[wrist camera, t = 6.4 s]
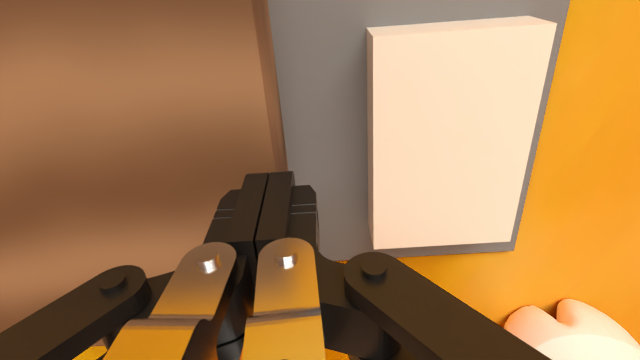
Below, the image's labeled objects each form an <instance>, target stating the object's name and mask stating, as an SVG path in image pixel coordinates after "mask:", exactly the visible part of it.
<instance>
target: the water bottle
mask: <svg viewBox="0 0 640 360" xmlns="http://www.w3.org/2000/svg"><path fill="white" fill-rule="evenodd" d="M504 329H505V330H507V331H508V332H510V333H512V334H513V335H515V336H516V337H518V338H519V339H521V340H522V341H524V342H525V343H527V344H529V345H530V346H532V347H533V348H535V349H536V350H538V351H539V352H541V353H542V354H544V355H546V356H547V357H549V358H550V359H552V360H640V345H639V344H638V343H637V342H636V341H635V340H634V338H633V337H632V336H631V335H630V334H629V333H628V332H627V331H626V330H625V329H624V328H622V327H621V326H620V325H619V324H618V323H617V322H615V321H614V320H613V319H611V318H610V317H608V316H607V315H605V314H604V313H602V312H601V311H599V310H597V309H595V308H594V307H591V306H589V305H587V304H585V303H583V302H580V301H577V300H573V299H563V300H562V301H560V302H559V303H558V306H557V318H556V320H555V319H554V318H553V317H552V316H550V315H549V314H547V313H546V312H545V311H543V310H541V309H540V308H538V307H535V306H533V305H530V306H525V307H522V308H520V309H518V310H517V311H515V312H514V313H513V314H511V315H510V316H509V318H508V320H507V321H506V323H505V325H504Z"/></svg>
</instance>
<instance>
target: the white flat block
mask: <svg viewBox="0 0 640 360" xmlns="http://www.w3.org/2000/svg"><path fill="white" fill-rule="evenodd" d="M556 26H557V23H554V22H550V21H547V20H543V19H539V18H535V17H531V16H517V17H504V18H490V19H477V20H463V21H450V22H436V23H423V24H410V25H396V26H383V27H369V28H366V39H367V136H368V224H369V229H370V234H371V239H372V244H373V249H391V248H408V247H425V246H442V245H459V244H476V243H493V242H510V240H511V236H512V231H513V226H514V222H515V217H516V212H517V208H518V203H519V198H520V194H521V189H522V185H523V180H524V175H525V171H526V166H527V161H528V157H529V152H530V147H531V143H532V138H533V133H534V129H535V124H536V119H537V115H538V110H539V105H540V101H541V96H542V92H543V87H544V82H545V78H546V73H547V68H548V64H549V59H550V54H551V50H552V45H553V40H554V36H555V31H556Z"/></svg>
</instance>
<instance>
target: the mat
mask: <svg viewBox="0 0 640 360" xmlns="http://www.w3.org/2000/svg"><path fill="white" fill-rule="evenodd" d="M569 3H570V0H268V8H269V16H270V24H271V32H272V40H273V49H274V57H275V65H276V73H277V81H278V89H279V98H280V106H281V114H282V122H283V130H284V138H285V147H286V155H287V163H288V171H293V172H294V178H295V186H299V185H310V186H311V187H312V188H313V190H314V191H315V192H316V197H317V209H318V220H319V237H320V242H319V243H320V253H321V254H322V255H323V256H324V257H325V258H327V259H329V260H331V261H343V260H350V259H351V258H353V257H354V256H356V255H358V254H361V253H365V252H380V253H385V254H388V255H390V256H392V257H394V258H395V257H413V256H430V255H448V254H465V253H483V252H500V251H514V247H515V243H516V239H517V234H518V230H519V225H520V221H521V216H522V212H523V208H524V203H525V199H526V194H527V190H528V185H529V181H530V176H531V172H532V168H533V163H534V159H535V154H536V150H537V145H538V141H539V136H540V132H541V128H542V123H543V119H544V114H545V110H546V105H547V101H548V97H549V92H550V88H551V83H552V79H553V74H554V70H555V65H556V61H557V57H558V52H559V48H560V43H561V39H562V34H563V30H564V25H565V21H566V17H567V12H568V8H569ZM517 16H531V17H535V18H539V19H543V20H547V21H550V22H554V23H557V26H556V31H555V36H554V40H553V45H552V50H551V54H550V59H549V64H548V68H547V73H546V78H545V82H544V87H543V92H542V96H541V101H540V105H539V110H538V115H537V119H536V124H535V129H534V133H533V138H532V143H531V147H530V152H529V157H528V161H527V166H526V171H525V175H524V180H523V185H522V189H521V194H520V198H519V203H518V208H517V212H516V217H515V222H514V226H513V231H512V236H511V240H510V242H493V243H476V244H459V245H442V246H425V247H408V248H391V249H373V244H372V239H371V234H370V229H369V224H368V136H367V39H366V28H369V27H383V26H396V25H410V24H423V23H436V22H450V21H463V20H477V19H490V18H504V17H517Z"/></svg>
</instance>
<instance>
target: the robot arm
mask: <svg viewBox="0 0 640 360" xmlns="http://www.w3.org/2000/svg"><path fill="white" fill-rule="evenodd" d="M319 242H320V237H319V220H318V209H317V197H316V192H315V191H314V190H313V188H312V187H311V186H310V185H299V186H295V178H294V172H293V171H282V172H270V173H269V172H267V173H251V174H246V175H245V178H244V181H243V184H242V187H241V189H236V190H230V191H229V192H228V193H227V194H226V195H224V196H223V197H222V198H221V199H220V202H219V204H218V207H217V211H216V212H215V214H214V217H213V219H212V222H211V224H210V227H209V229H208V232H207V234H206V237H205V239H204V242H203V244H202V245H199V246H197V247H195V248H193V249H192V250H190V251H189V252H188V253H186V254H185V255H184V257H183V258H182V259H181V261H180V263H179V265H178V266H177V268H176V270H175V271H172V272H169V273H165V274H162V275H158V276H155V277H151V278H148V279H147V277H146V275H145V272H144V270H143V269H142V268H140V267H138V266H135V265H123V266H118V267H114V268H111V269H108V270H106V271H104V272H102V273H100V274H99V275H97V276H95V277H94V278H92V279H90V280H88V281H87V282H85V283H83V284H82V285H80V286H78V287H77V288H75V289H73V290H72V291H70V292H68V293H67V294H65V295H63V296H62V297H60V298H58V299H56V300H55V301H53V302H51V303H50V304H48V305H46V306H45V307H43V308H41V309H40V310H38V311H36V312H35V313H33V314H31V315H30V316H28V317H26V318H24V319H23V320H21V321H19V322H18V323H16V324H14V325H13V326H11V327H9V328H8V329H6V330H4V331H3V332H1V333H0V360H72V359H74V358H75V357H76V356H78V355H79V354H81V353H82V352H83V351H85V350H86V349H88V348H89V347H91V346H92V345H93V344H95V343H96V342H98V341H99V340H100V339H102V341H103V343H104V345H105V347H106V349H107V352H106V353H105V354H103V355H102V356H101V357H99V358H98V359H97V360H326V357H325V348H326V349H330V350H334V351H338V352H341V353H345V354H348V356H349V359H350V360H552V359H550V358H549V357H547V356H546V355H544V354H542V353H541V352H539V351H538V350H536V349H535V348H533V347H532V346H530V345H529V344H527V343H525V342H524V341H522V340H521V339H519V338H518V337H516V336H515V335H513V334H512V333H510V332H508V331H507V330H505V329H504V328H502V327H501V326H499V325H498V324H496V323H495V322H493V321H491V320H490V319H488V318H487V317H485V316H484V315H482V314H481V313H479V312H478V311H476V310H474V309H473V308H471V307H470V306H468V305H467V304H465V303H464V302H462V301H461V300H459V299H458V298H456V297H454V296H453V295H451V294H450V293H448V292H447V291H445V290H444V289H442V288H441V287H439V286H437V285H436V284H434V283H433V282H431V281H430V280H428V279H427V278H425V277H424V276H422V275H420V274H419V273H417V272H416V271H414V270H413V269H411V268H410V267H408V266H407V265H405V264H403V263H402V262H400V261H399V260H397V259H396V258H394V257H392V256H390V255H388V254H385V253H380V252H365V253H361V254H358V255H356V256H354V257H353V258H351V259H350V260H349V261H348V262H347V263H346V264H343V263H338V262H334V261H331V260H329V259H327V258H325V257H324V256H323V255H322V254H321V253H320V243H319Z"/></svg>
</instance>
